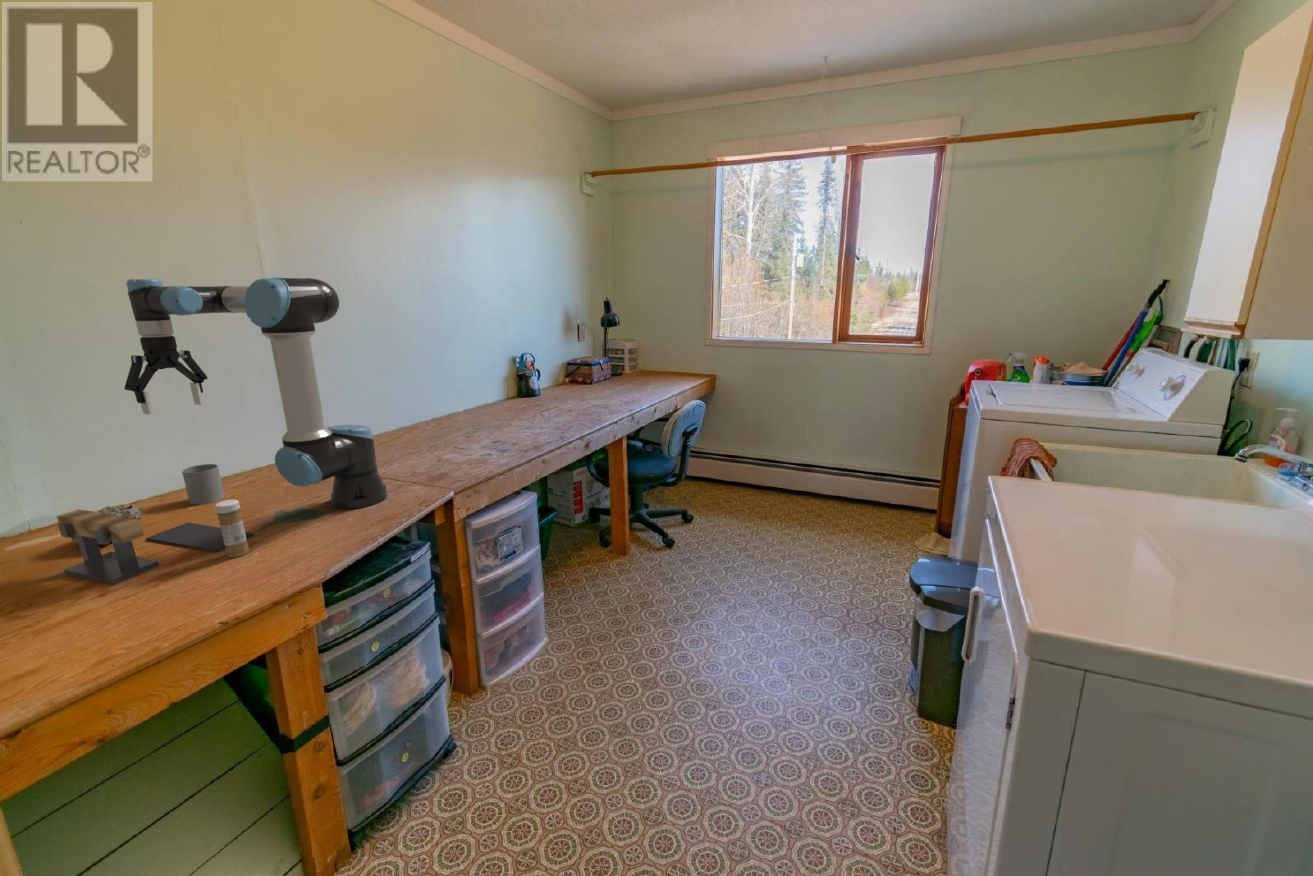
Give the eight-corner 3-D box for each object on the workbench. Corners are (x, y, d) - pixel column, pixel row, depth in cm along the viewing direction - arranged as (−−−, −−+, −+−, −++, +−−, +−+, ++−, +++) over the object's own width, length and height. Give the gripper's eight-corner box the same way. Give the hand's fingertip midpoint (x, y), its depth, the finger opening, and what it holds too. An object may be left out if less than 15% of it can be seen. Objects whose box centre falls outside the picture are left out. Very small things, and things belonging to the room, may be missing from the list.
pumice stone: (120, 526, 149) (113, 499, 147) (160, 528, 148) (152, 501, 146) (62, 550, 136) (52, 520, 134) (104, 553, 135) (95, 522, 133)
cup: (183, 505, 163) (176, 474, 161) (198, 496, 171) (190, 465, 168) (217, 503, 166) (209, 471, 163) (229, 493, 173) (222, 463, 171)
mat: (254, 535, 144) (254, 533, 144) (215, 552, 135) (215, 550, 135) (188, 524, 151) (187, 522, 151) (146, 540, 141) (146, 538, 141)
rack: (159, 565, 129) (146, 517, 125) (113, 584, 120) (98, 534, 117) (112, 556, 133) (98, 510, 130) (64, 574, 125) (49, 525, 122)
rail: (143, 535, 123) (139, 519, 122) (122, 543, 120) (117, 526, 119) (83, 525, 129) (78, 509, 128) (61, 532, 125) (56, 515, 124)
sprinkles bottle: (247, 547, 137) (236, 497, 134) (251, 553, 134) (240, 502, 131) (224, 554, 134) (212, 502, 130) (228, 560, 131) (216, 507, 127)
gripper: (194, 331, 169) (209, 400, 174) (93, 339, 145) (115, 417, 151) (212, 332, 166) (226, 401, 172) (113, 340, 143) (134, 419, 149)
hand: (174, 409), depth 162 cm, fingers open, 13 cm apart
